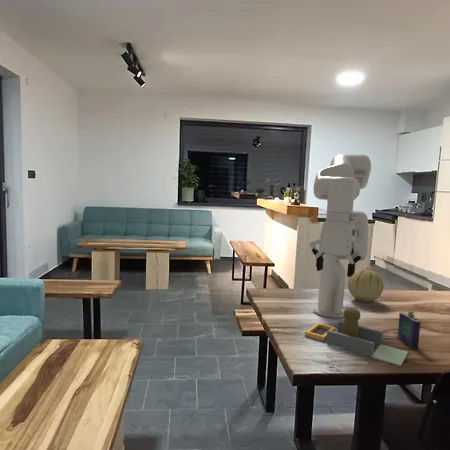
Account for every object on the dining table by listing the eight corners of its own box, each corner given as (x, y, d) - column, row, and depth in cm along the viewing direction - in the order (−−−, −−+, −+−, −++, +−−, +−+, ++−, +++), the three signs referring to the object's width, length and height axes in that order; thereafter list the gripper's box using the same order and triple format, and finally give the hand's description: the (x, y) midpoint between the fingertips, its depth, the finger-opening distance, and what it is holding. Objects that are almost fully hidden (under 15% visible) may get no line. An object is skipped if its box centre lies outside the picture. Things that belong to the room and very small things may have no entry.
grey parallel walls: (338, 332, 126) (339, 320, 126) (381, 343, 118) (382, 331, 117) (326, 343, 116) (327, 331, 116) (371, 356, 108) (373, 343, 108)
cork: (356, 348, 114) (360, 313, 113) (337, 342, 117) (340, 309, 116) (361, 341, 119) (364, 308, 118) (342, 336, 122) (345, 304, 121)
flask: (395, 337, 124) (398, 306, 123) (403, 337, 124) (406, 306, 123) (412, 349, 115) (416, 316, 114) (421, 349, 115) (425, 316, 114)
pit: (317, 326, 130) (317, 322, 130) (335, 331, 126) (335, 327, 126) (304, 336, 121) (305, 331, 121) (323, 341, 117) (324, 337, 117)
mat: (380, 345, 117) (380, 344, 117) (407, 353, 112) (408, 351, 112) (371, 357, 108) (371, 356, 108) (400, 366, 103) (401, 364, 103)
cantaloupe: (348, 304, 158) (351, 270, 156) (345, 294, 172) (347, 263, 171) (385, 308, 155) (388, 273, 153) (378, 298, 169) (381, 266, 167)
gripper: (372, 220, 108) (366, 276, 110) (317, 214, 119) (313, 266, 121) (364, 221, 103) (358, 281, 105) (307, 215, 113) (303, 269, 115)
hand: (334, 273), depth 113 cm, fingers open, 9 cm apart
